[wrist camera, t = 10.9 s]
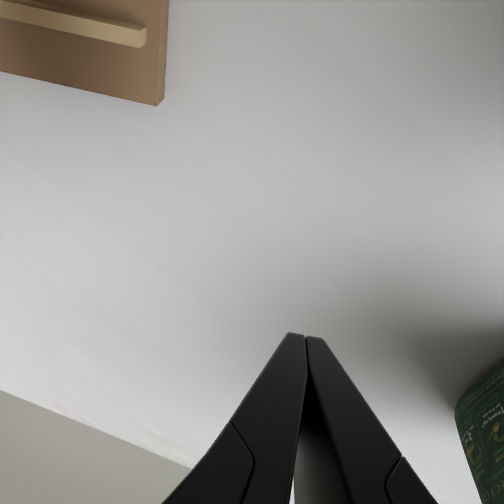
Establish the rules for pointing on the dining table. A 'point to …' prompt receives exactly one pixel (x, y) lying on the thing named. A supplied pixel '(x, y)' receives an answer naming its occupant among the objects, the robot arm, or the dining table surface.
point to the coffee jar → (484, 434)
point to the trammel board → (88, 45)
